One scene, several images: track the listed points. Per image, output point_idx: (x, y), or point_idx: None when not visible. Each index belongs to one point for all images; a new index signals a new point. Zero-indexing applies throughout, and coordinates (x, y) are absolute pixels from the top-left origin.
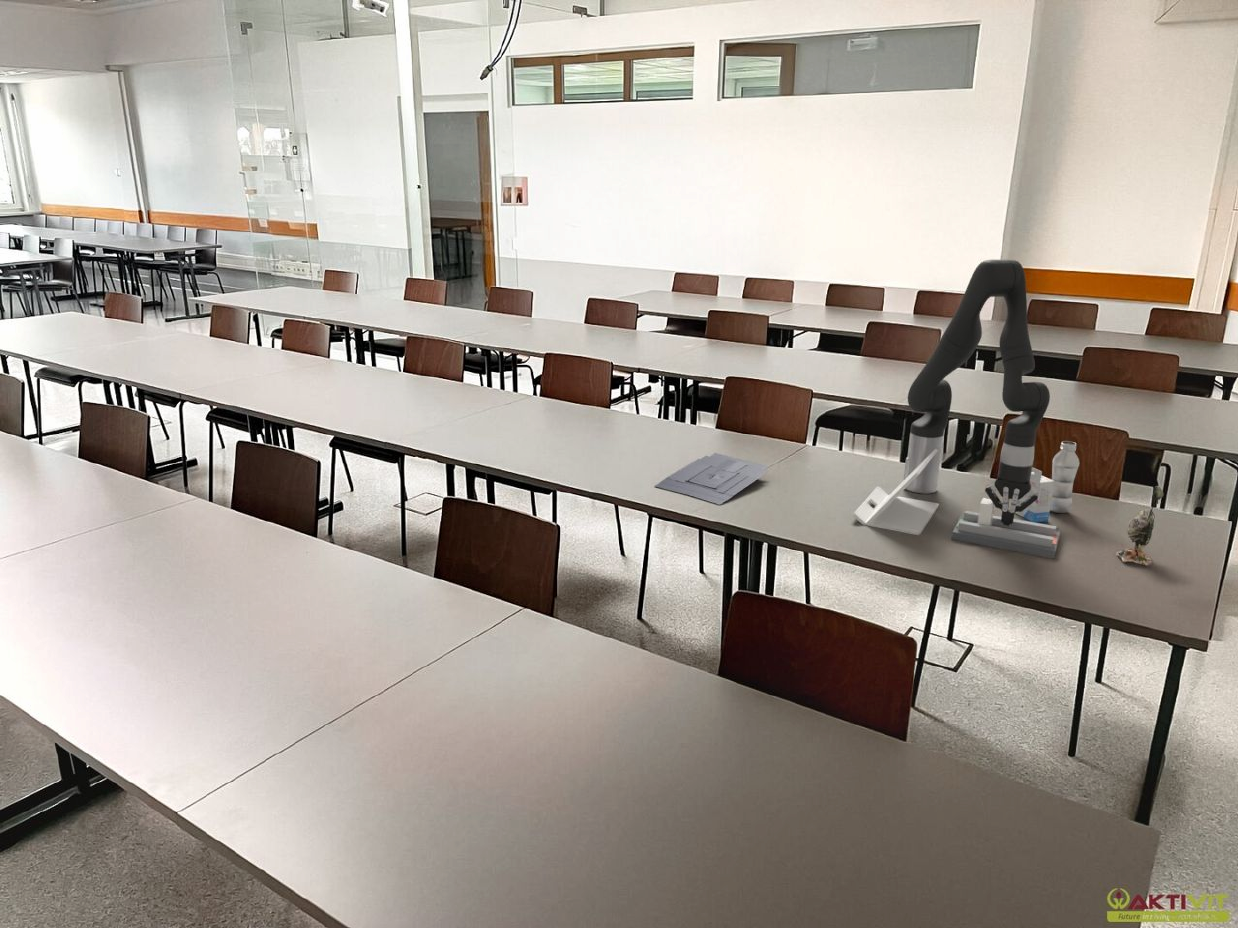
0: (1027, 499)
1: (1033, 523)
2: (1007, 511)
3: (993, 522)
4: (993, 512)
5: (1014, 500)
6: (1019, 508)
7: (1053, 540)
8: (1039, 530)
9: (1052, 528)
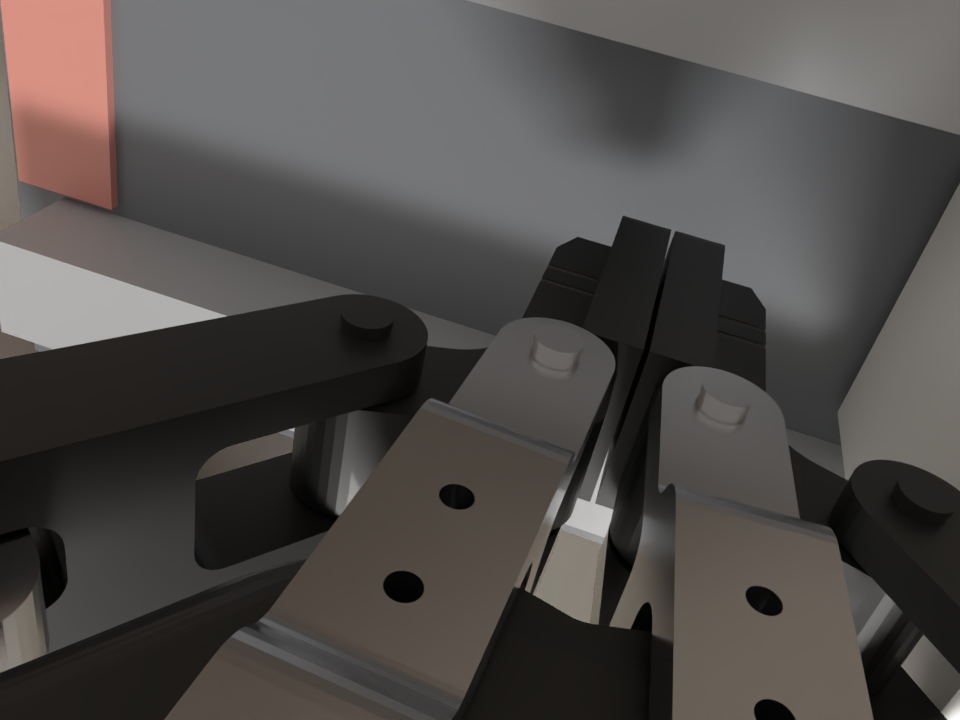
0: (88, 564)
1: None
2: (649, 402)
3: None
4: None
5: (458, 522)
6: (371, 348)
7: (40, 8)
8: (209, 270)
9: (28, 250)
